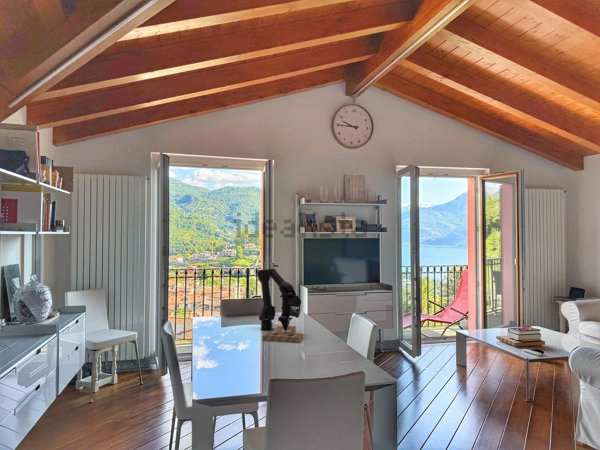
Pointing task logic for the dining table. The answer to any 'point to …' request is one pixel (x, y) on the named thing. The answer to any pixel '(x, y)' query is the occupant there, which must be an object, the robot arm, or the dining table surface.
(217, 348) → the dining table surface
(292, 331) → the tall terracotta pillar
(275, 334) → the brown slotted board
